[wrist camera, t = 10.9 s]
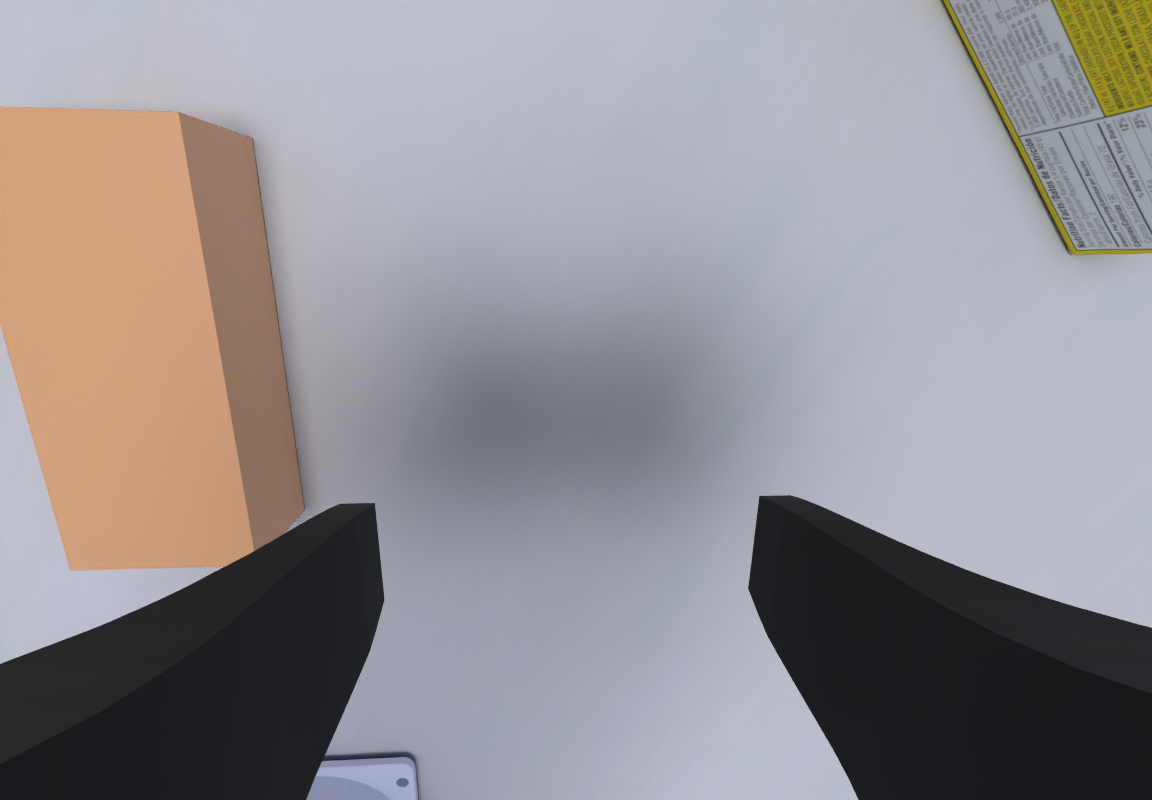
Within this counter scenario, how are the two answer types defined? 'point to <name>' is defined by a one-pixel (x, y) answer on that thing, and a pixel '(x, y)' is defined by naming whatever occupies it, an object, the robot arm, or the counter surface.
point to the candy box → (1074, 108)
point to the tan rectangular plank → (145, 335)
